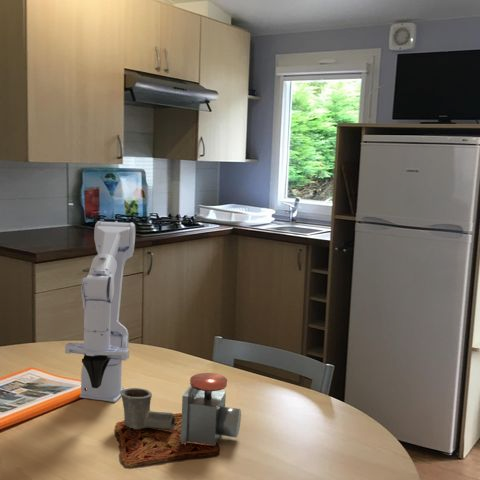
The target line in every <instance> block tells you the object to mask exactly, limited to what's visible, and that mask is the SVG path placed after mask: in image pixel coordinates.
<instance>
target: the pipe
mask: <svg viewBox="0 0 480 480" xmlns="http://www.w3.org/2000/svg"><path fill="white" fill-rule="evenodd" d="M120 394H121V401H122V407H123V413H124V414H123V416H124V417H123V418H124V419H123V420H124V421H123V422H124V425H125V426H126V427H127V428H128V427H129V428H128V429H131V428H133V429H132V430H142V429H152V430H165V431H166V430H168V431H172V430H174V427H175V425H176V417H175V414H174V413H173V412H167V411H166V412H165V411H164V412H163V411H153V410H151V401H152V395H153V394H152V392H151V391H150V390H148V389H146V388H139V387H138V388H137V387H131V388H126V389H124V390H121V391H120ZM141 428H142V429H141Z"/></svg>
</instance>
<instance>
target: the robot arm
mask: <svg viewBox="0 0 480 480" xmlns="http://www.w3.org/2000/svg"><path fill="white" fill-rule="evenodd" d="M93 233H94V234H93V238H94V243H95V244H94V245H95V250H96V252H97V255H95V256H94V258H92V262H91V265H90V268H89V271H88V274H87V276H86V277H83V278H82V282H81V289H80V290H81V291H80V292H81V300H82V309H83V310H84V311H83V312H84V314H83V322H84V324H83V328H84V329H83V342H68V343H66V344H65V345H64V350H65V351H64V353H65V354H78V355H79V354H80V355H83V357H82V358H81V363H82V367H81V373H80V375H81V376H80V378H81V379H80V381H81V382H80V385H81V386H80V394H79V398H83V399H88V400H89V399H90V400H97V401H103V402H104V401H105V402H111V403H116V402H117V401H118V400H119V399H120V398H122V396H121V394H120V391H121V390H124V389H127V388H126V387H122V375H123V374H122V372H123V371H122V370H123V369H122V368H123V361H127V360H128V359H129V358H130V349H129V331H128V329H127V328H126V327H125V325H123V324H122V323H121V322H120V319H119V318H120V309H121V300H122V299H121V298H122V297H121V296H122V286H123V278H124V269H125V264H126V261H127V260H128V259H129V258H132V257H133V255H134V252H135V243H136V224H135V223H134V222H120V221H119V222H115V221H114V222H113V221H101V220H97V221H96V223H95V226H94V232H93ZM86 388H87V390H86Z"/></svg>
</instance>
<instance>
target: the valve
mask: <svg viewBox="0 0 480 480" xmlns="http://www.w3.org/2000/svg"><path fill="white" fill-rule="evenodd" d="M227 386H228V378H226V376H224V375H222V374H219V373H214V372H201V373H200V372H199V373H196V374H193V375H192V376H190V379H189V386H188V388H187V389H186V390H185V392H184V393H183V395H182V398H181V399H182V401H181V423H180V424H181V425H180V430H181V431H180V443H181V442H183V443H186V442H187V441H190V442H197V443H205V444H211V445H215V443H216V442H217V443H218V441H219V439H220V437H221V436H223V437H224V436H225V437H231V438H238V436H239V433H240V427H241V419H242V410H241V408H237V407H230V406H228V407H227V406H226V395H227V394H226V393H227V392H226V390H224V389H225V388H226V387H227Z"/></svg>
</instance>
